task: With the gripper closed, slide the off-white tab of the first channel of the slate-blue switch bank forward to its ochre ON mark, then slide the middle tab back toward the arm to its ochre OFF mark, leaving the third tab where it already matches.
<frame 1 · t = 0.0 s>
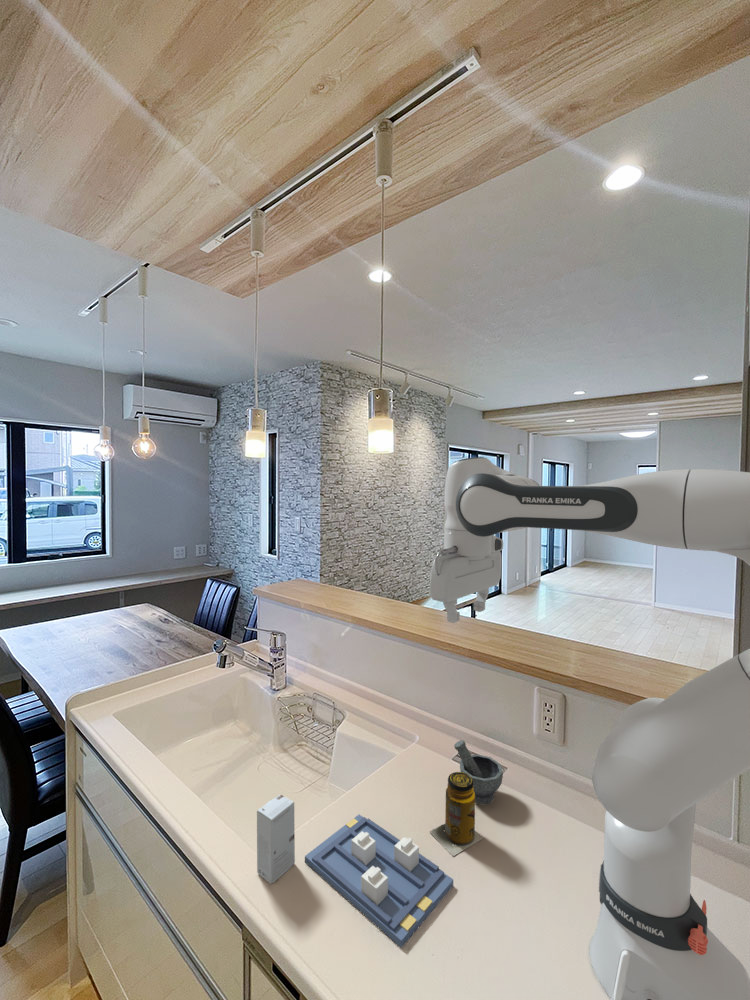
hand: (466, 616, 87), 48 cm above the worktop, fingers open, 8 cm apart
tab 1: (406, 852, 86), point 3 cm above the worktop, slide at -3.5 cm
condiment: (456, 836, 95), on the worktop
switch bank: (376, 873, 86), on the worktop
tab 3: (374, 883, 80), point 3 cm above the worktop, slide at -3.5 cm
mortar and pestle: (477, 795, 107), on the worktop
skincare box: (276, 868, 87), on the worktop
tab 2: (363, 846, 88), point 3 cm above the worktop, slide at 3.5 cm
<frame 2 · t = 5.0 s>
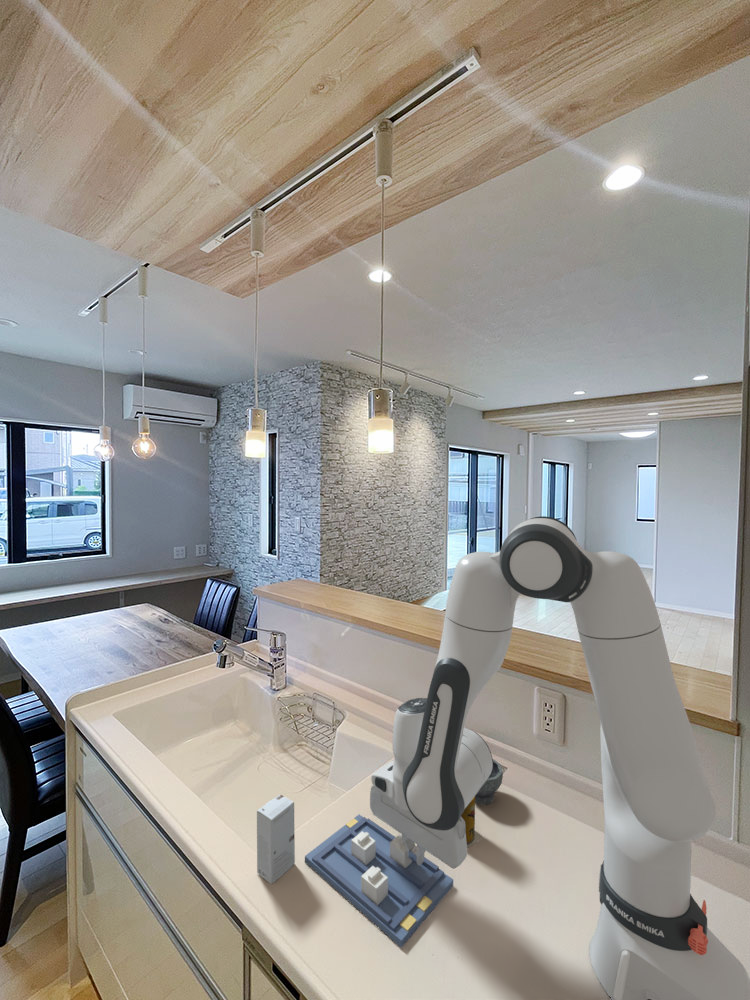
hand: (415, 859, 85), 3 cm above the worktop, fingers closed
tab 1: (402, 849, 87), point 3 cm above the worktop, slide at -2.4 cm, touching gripper
everything else where it was.
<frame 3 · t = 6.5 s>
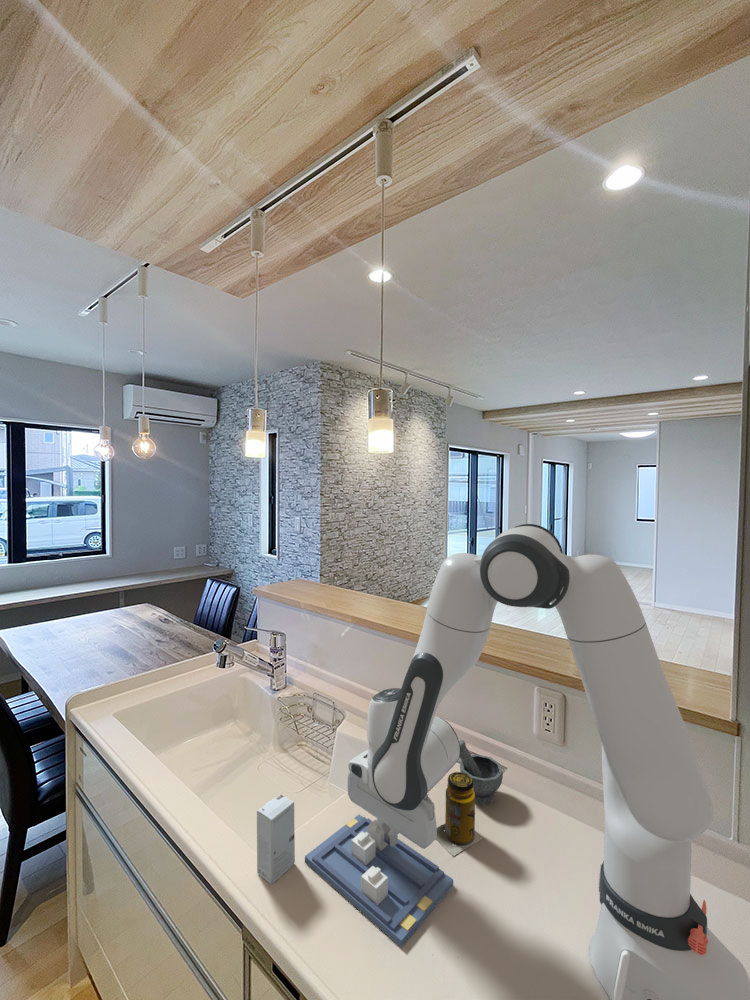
hand: (389, 842, 89), 3 cm above the worktop, fingers closed
tab 1: (378, 832, 91), point 3 cm above the worktop, slide at 3.6 cm, touching gripper
everything else where it was.
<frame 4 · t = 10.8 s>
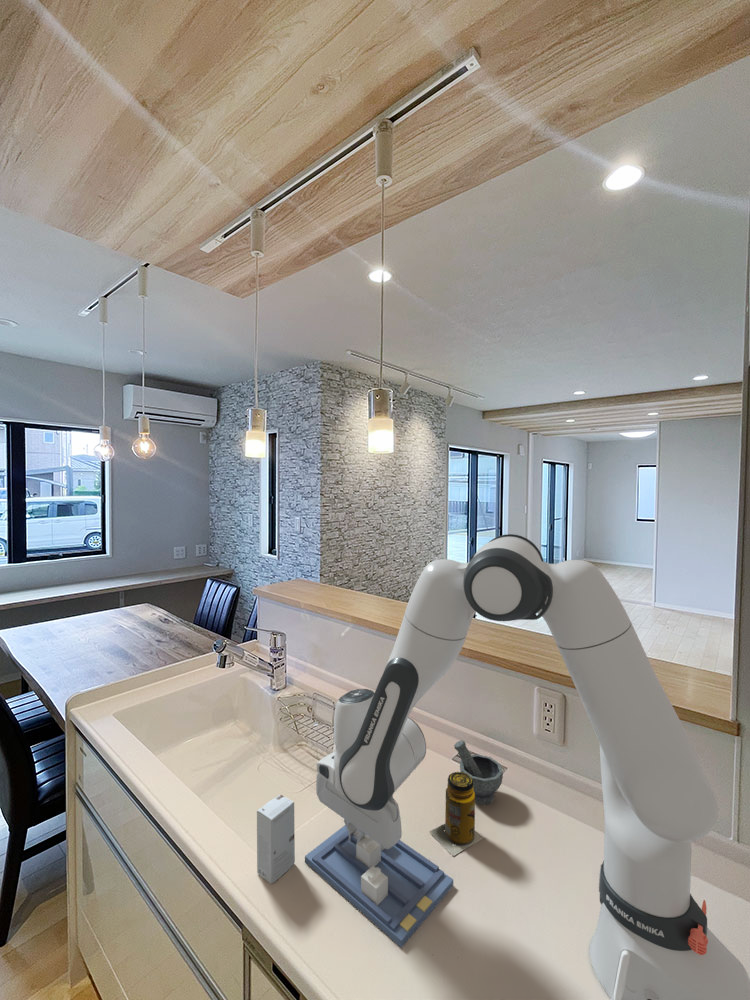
hand: (356, 842, 89), 3 cm above the worktop, fingers closed
tab 1: (378, 833, 91), point 3 cm above the worktop, slide at 3.6 cm
tab 2: (368, 850, 87), point 3 cm above the worktop, slide at 2.2 cm, touching gripper
everything else where it was.
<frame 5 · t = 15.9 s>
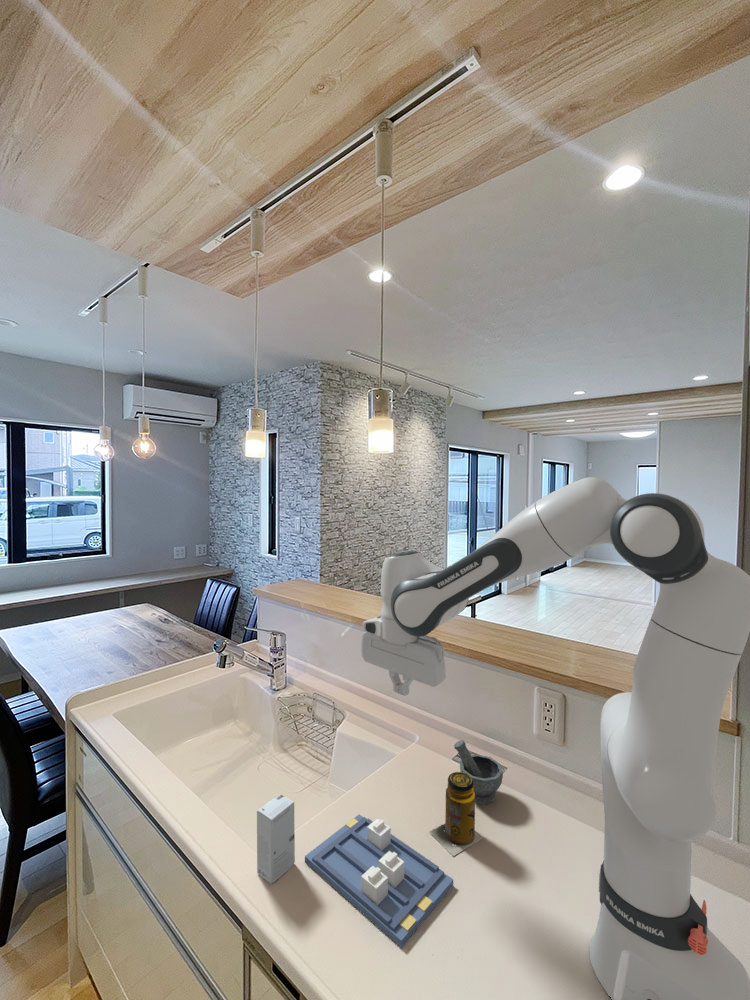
hand: (401, 693, 96), 29 cm above the worktop, fingers closed
tab 2: (391, 867, 83), point 3 cm above the worktop, slide at -3.6 cm
everything else where it was.
at the end: tab 1 slide at 3.6 cm; tab 2 slide at -3.6 cm; tab 3 slide at -3.5 cm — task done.
